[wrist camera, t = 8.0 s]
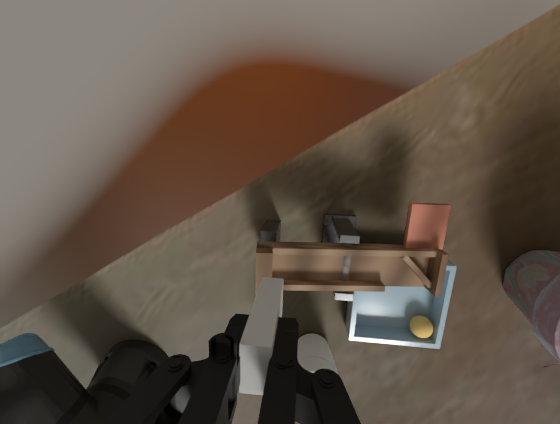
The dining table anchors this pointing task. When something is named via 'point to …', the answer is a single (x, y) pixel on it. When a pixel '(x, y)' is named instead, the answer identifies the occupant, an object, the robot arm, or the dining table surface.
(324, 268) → the brown wooden trough
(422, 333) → the ball
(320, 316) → the dining table surface
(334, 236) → the fulcrum
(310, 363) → the cup
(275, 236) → the block
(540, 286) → the potted plant
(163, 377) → the robot arm
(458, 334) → the dining table surface
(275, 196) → the dining table surface
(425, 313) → the dish
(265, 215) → the dining table surface
